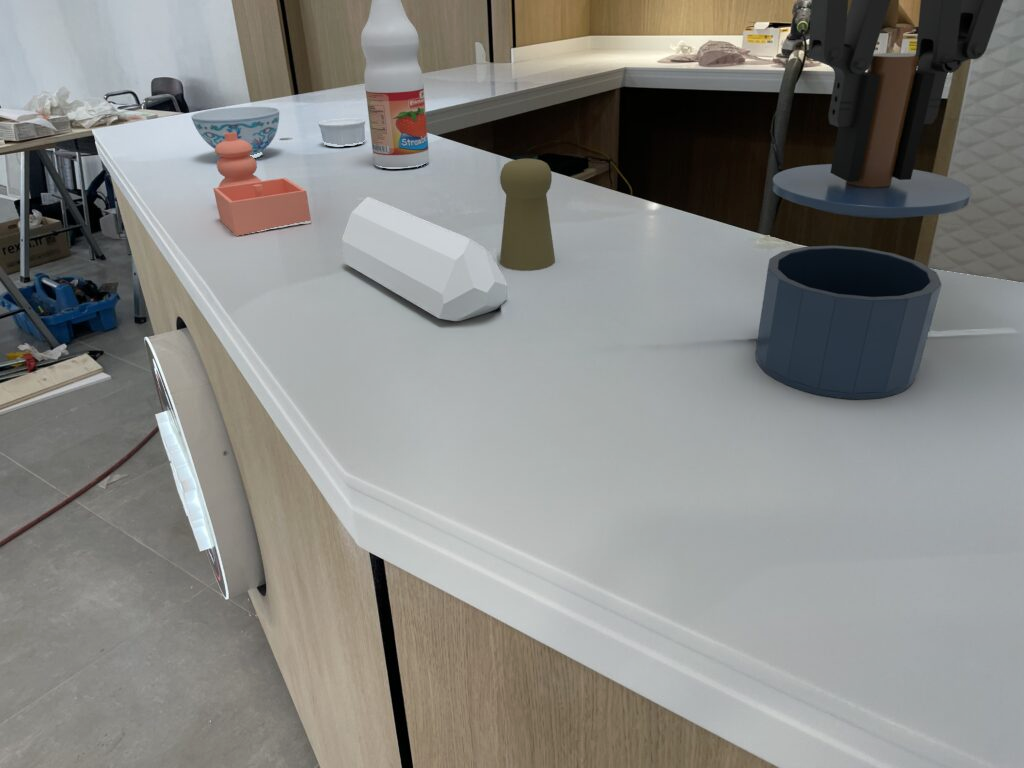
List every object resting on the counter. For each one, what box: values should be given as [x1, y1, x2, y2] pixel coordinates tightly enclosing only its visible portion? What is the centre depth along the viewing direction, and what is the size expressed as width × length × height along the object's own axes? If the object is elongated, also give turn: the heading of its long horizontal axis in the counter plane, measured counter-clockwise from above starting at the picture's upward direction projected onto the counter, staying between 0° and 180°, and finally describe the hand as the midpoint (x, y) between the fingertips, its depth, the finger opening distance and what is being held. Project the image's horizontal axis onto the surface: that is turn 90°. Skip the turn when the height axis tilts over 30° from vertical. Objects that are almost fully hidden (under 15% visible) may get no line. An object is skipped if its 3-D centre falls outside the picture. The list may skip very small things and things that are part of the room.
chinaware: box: [190, 106, 280, 155], centre depth 133 cm, size 15×15×8 cm
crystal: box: [341, 196, 509, 322], centre depth 72 cm, size 7×7×24 cm
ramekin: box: [317, 117, 366, 145], centre depth 142 cm, size 9×9×4 cm
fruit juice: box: [360, 0, 430, 167], centre depth 118 cm, size 9×9×28 cm
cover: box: [771, 52, 973, 219], centre depth 48 cm, size 12×12×9 cm
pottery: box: [213, 132, 312, 237], centre depth 97 cm, size 18×10×10 cm, turn 32°
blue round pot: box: [755, 245, 942, 400], centre depth 55 cm, size 11×11×8 cm
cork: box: [499, 158, 556, 272], centre depth 75 cm, size 6×6×11 cm
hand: (869, 175), depth 50 cm, fingers closed on cover, 3 cm apart
